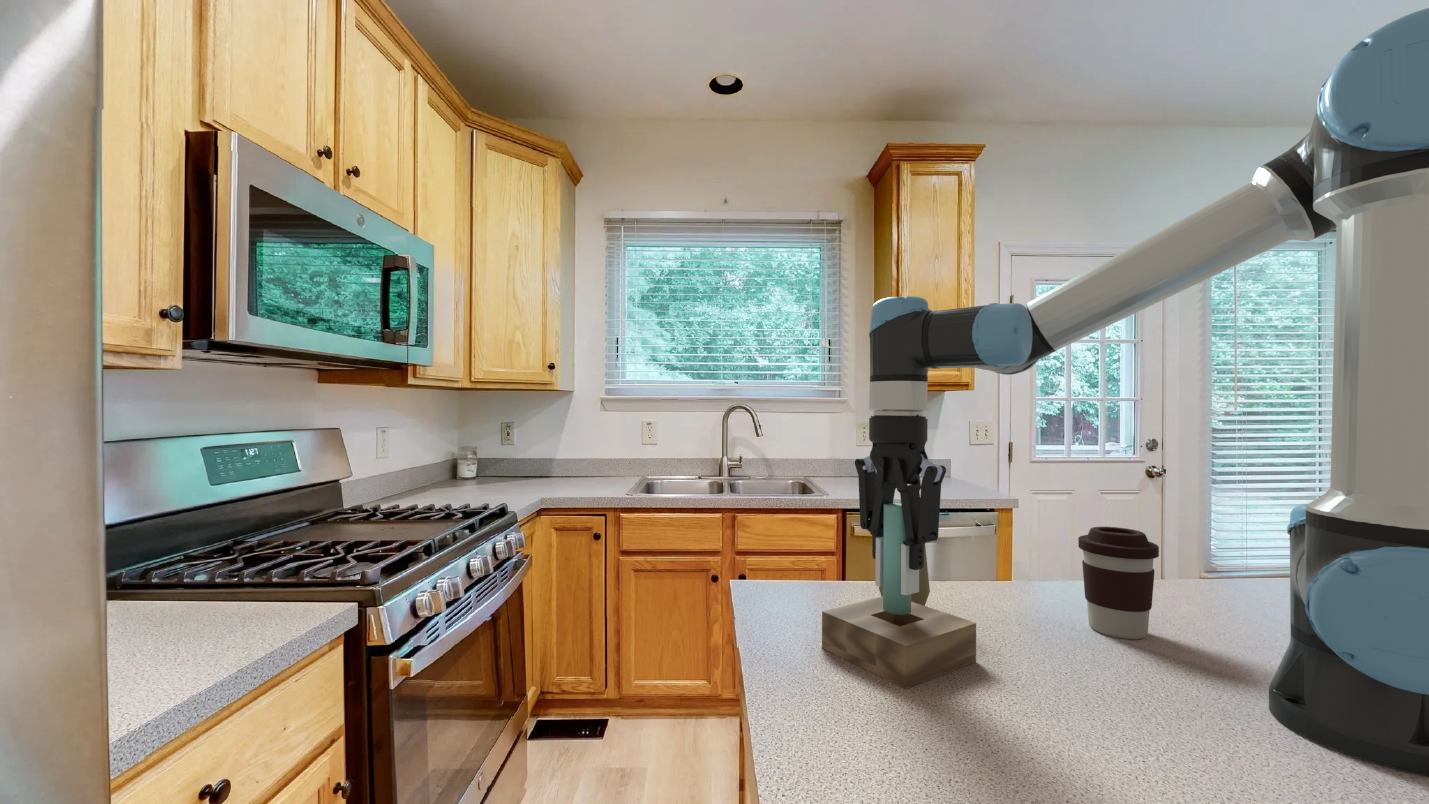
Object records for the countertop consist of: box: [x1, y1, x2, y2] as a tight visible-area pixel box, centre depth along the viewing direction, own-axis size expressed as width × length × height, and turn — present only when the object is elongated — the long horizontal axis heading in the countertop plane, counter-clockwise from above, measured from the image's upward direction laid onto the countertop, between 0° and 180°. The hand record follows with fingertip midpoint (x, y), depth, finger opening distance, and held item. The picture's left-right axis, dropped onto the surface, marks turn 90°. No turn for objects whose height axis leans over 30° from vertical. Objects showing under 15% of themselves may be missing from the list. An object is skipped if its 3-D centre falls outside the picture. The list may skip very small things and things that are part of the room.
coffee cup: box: [1077, 526, 1160, 640], centre depth 88 cm, size 10×10×15 cm
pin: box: [883, 502, 911, 615], centre depth 79 cm, size 4×4×14 cm
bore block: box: [821, 596, 977, 690], centre depth 78 cm, size 14×14×5 cm
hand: (896, 588), depth 79 cm, fingers closed on pin, 3 cm apart
